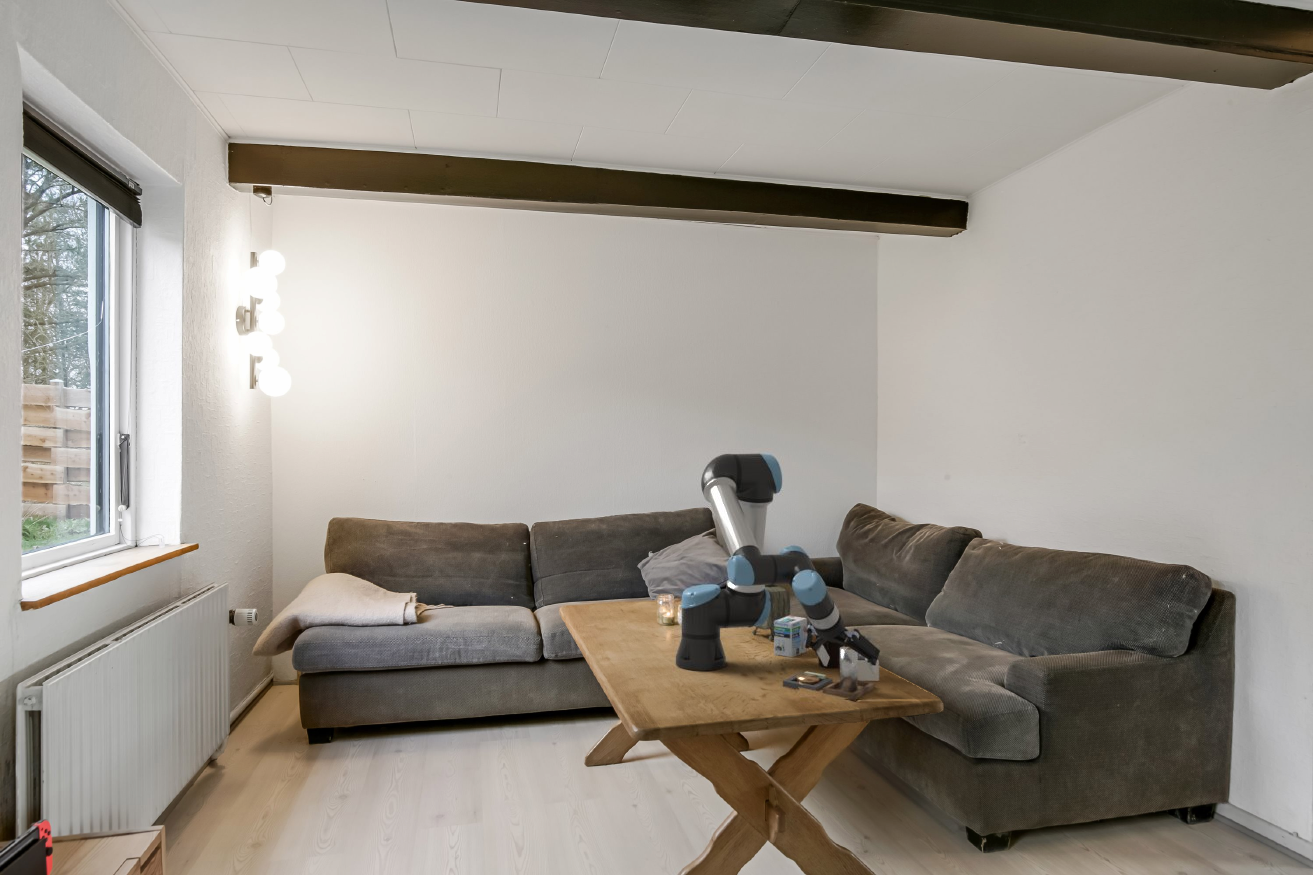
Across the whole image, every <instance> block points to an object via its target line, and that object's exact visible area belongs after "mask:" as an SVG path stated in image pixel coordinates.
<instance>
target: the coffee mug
mask: <svg viewBox="0 0 1313 875" xmlns="http://www.w3.org/2000/svg"><path fill="white" fill-rule="evenodd" d="M814 636H815V639H817V638H818V637H819V636H818V634H817V633H816V632H815V633H814ZM823 646H824V648H825V650H826V652H827V654H828V655H829V657H830V658H829V661H828V664H827V666H824V665H823V663H822V661H821V659H820V657H819V656H817V661H818V666H819V668H823V669H828V670H833V669H840V648H841V647H845V646H843V645H842V644H839V643H835V642H830V641H826V642H825V643H823Z"/></svg>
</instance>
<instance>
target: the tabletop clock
mask: <svg viewBox="0 0 1313 875" xmlns="http://www.w3.org/2000/svg"><path fill="white" fill-rule="evenodd" d="M765 588H766V589H767V590H768V592H769V595H770V602H771V606H770V613H769V616H768V618H767V620H766V622H765V623H763V624H762V625H760V626H754V628H755V629H752V630H751V632H752V633H751V634H753V635H756V634H757V632H758V629H760V630H764V631H766V630H770V635H769V636H768V640H769V641H770V642H771V641H774V621H775V620H778V619H781V618H784V617H787V616H791V595H790V592H789V591H788V590H787V589H786V588H784V587H782V586H779V585H778V584H774V585H772V584H771V585H770V584H769V585H765Z"/></svg>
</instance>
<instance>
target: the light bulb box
mask: <svg viewBox="0 0 1313 875" xmlns="http://www.w3.org/2000/svg"><path fill="white" fill-rule="evenodd" d="M807 628H808V617H807V618H806V617H799V616H794V615H790V616H787V617H784V618H781V619H778V620H775V621H774V636H773V638H774V639H773V642H774V643H773V644H774V647H773V648H774V652H773V654H774V655H775V656H783V657H788V658H794V657H796V656H799V655H801V653H802V654H804V653H807V652H808V649H807V648H805V644H806V640H807V636H808V634H807V632H806V630H807ZM806 651H807V652H806Z"/></svg>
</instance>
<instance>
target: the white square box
mask: <svg viewBox="0 0 1313 875" xmlns="http://www.w3.org/2000/svg"><path fill="white" fill-rule="evenodd" d="M876 663H877V665H878V666H877V669H876V673H875V675H874V674H872V673H871V671H870V669H869V667H868V665H867V663H866V661H865V660H858V680H861V681H866V682H872V681H873V682H877V681H880V661H879V660H878V659H877V662H876Z"/></svg>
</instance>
